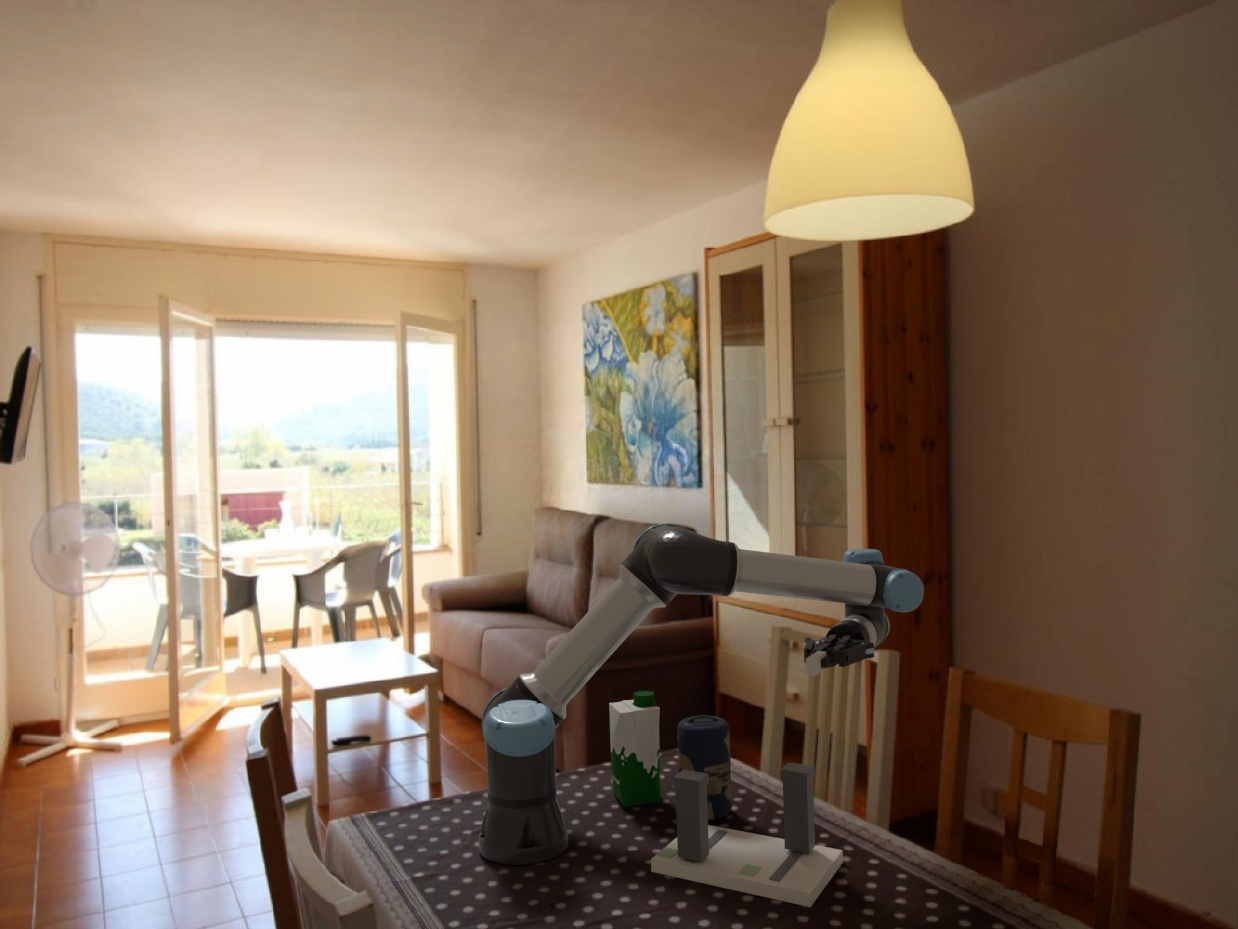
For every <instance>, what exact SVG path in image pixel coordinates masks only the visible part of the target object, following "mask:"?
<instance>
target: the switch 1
mask: <svg viewBox="0 0 1238 929" xmlns="http://www.w3.org/2000/svg"><path fill="white" fill-rule="evenodd" d="M672 779H673V788H675V807H676V809H675V812H676V813H675V814H676V838H677V846H678V857H680V858H685V859H689V860H694V861H699V862H701V861H702V860H704V859H705V858H706V857H707V856H708V855H709V838H708V825H709V820H708V807H707V785H708V784H709V777H708V773H701V772H695V771H689V770H682V771H681V772H679V771H678V773H677V774H675V775H674V776H673V777H672Z"/></svg>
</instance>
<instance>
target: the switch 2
mask: <svg viewBox="0 0 1238 929" xmlns="http://www.w3.org/2000/svg"><path fill="white" fill-rule="evenodd" d="M779 772H780V780H782V802H783V831H784V832H783V834H784V835H783V836H784V837H783V839H784V842H785V849H788V850H793V851H798V852H804V853H810V852H811V851H812V849H813V848H814V847H815V845H816V833H815V831H816V830H815V801H814V800H815V799H814V795H815V794H814V778H815V776H816V770H815V766H814V765H808V764H803V763H802V764H800V763H795V762H787V763H786V764H785V765H783V767H781V768H780V771H779Z"/></svg>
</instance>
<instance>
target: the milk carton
mask: <svg viewBox="0 0 1238 929" xmlns="http://www.w3.org/2000/svg"><path fill="white" fill-rule="evenodd" d="M655 699H656V698H655V692H654V691H652V690H637V691H634V692H633V699H629V700H628V699H627V700H625V699H624V700H621V701H617V702H609V703H608V705H609V709H608V710H609V734H610V735H609V736H610V737H609V739H610V761H611V763H610V764H611V767H610V768H611V778H612V787H613V794H614V796H615V798H616V799H617V800H618V799H619V800H618V801H619V802H620V803H621V804H622V806H623V807H625V808H631V807H635V806H636V807H637V806H644V805H649V804H657V803H661V800H662V798H661V792H662V791H661V789H662V788H661V758H660V757H661V753H660V752H661V751H660V750H661V748H660V711H661V708H660V707H659V706H658V705H657V703H656V702H655V701H656V700H655ZM643 804H644V805H643Z"/></svg>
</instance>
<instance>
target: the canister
mask: <svg viewBox="0 0 1238 929" xmlns="http://www.w3.org/2000/svg"><path fill="white" fill-rule="evenodd" d="M676 730H677V753H678V754H677V756H678V773H679V772H681V771H682V770H689V771H695V772H701V773H708V777H709V784H708V785H707V807H708V821H711V820H717V819H721V818H723V817H725V816H728V814H730V812H731V811H732V807H733V795H732V794H733V792H732V771H731V766H732V765H731V764H732V762H731V741H730V739H731V738H730V727H729V723H728V722H727V720H725V719H724V718H722V717H719V716H715V715H704V714H702V715H693V716H689V717H686V718H683V719H681V720H680V721H679V722H678V723H677V729H676Z"/></svg>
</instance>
